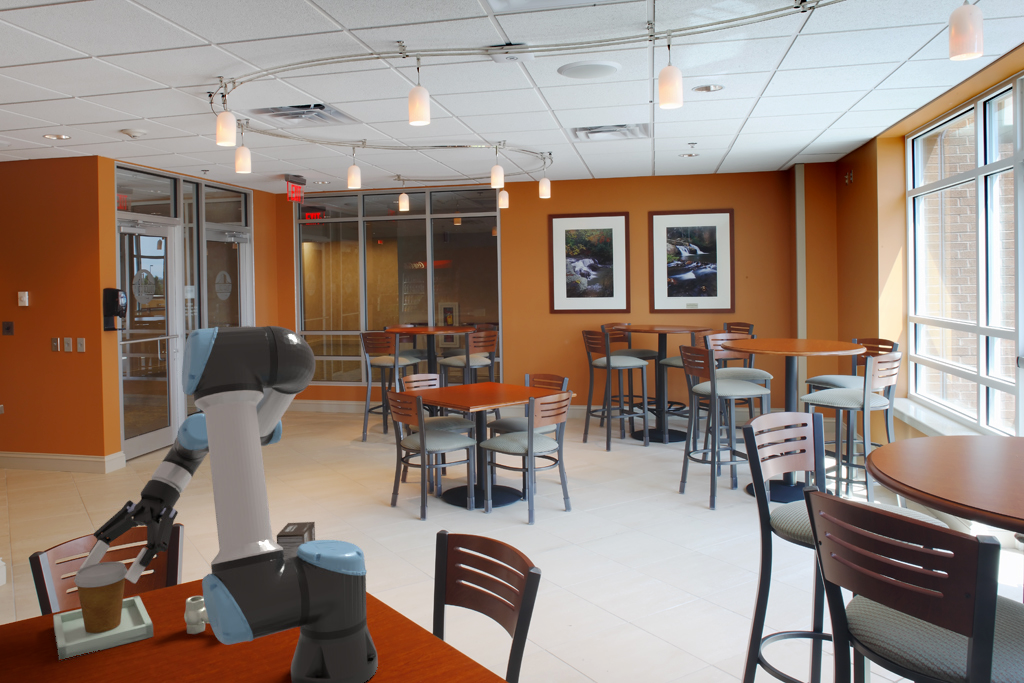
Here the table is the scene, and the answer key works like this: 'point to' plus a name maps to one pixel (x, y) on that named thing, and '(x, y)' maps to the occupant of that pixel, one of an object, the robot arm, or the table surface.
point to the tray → (79, 641)
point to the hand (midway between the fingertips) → (106, 576)
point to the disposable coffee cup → (101, 595)
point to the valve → (195, 615)
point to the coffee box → (295, 537)
